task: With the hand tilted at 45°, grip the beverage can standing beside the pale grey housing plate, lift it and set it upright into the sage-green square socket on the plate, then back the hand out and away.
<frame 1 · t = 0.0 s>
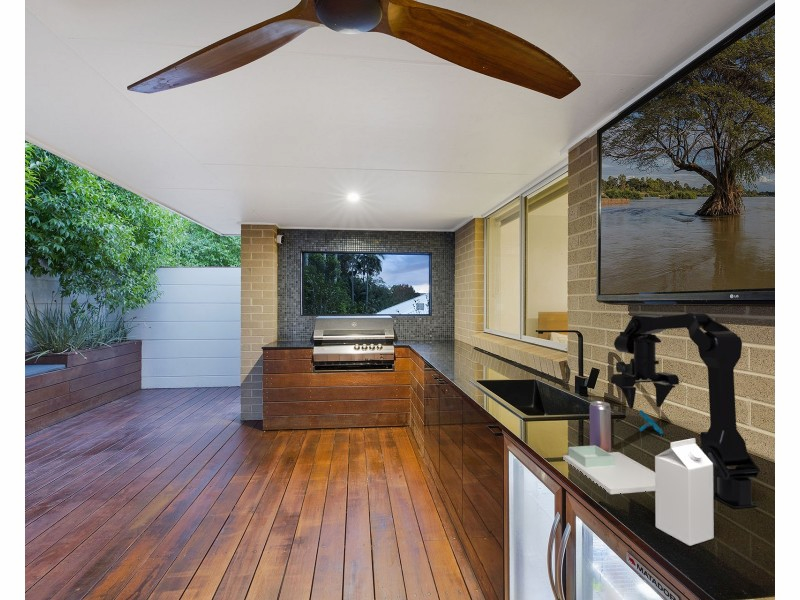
hand: (644, 407, 125), 15 cm above the worktop, tool pointing down, fingers open, 9 cm apart
milk carton: (683, 534, 84), on the worktop
housing plate: (615, 473, 113), on the worktop
beverage can: (600, 451, 129), on the worktop
blue irregular branched piece: (650, 432, 147), on the worktop
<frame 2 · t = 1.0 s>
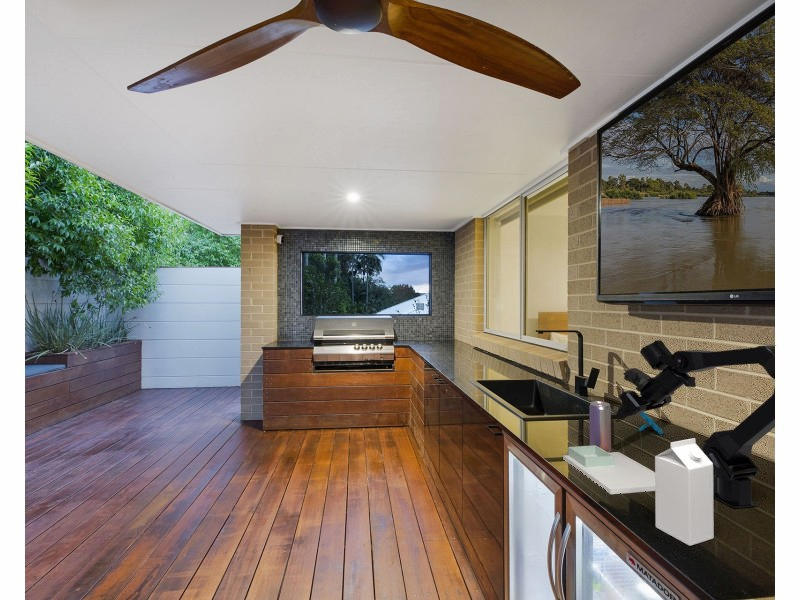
hand: (625, 414, 122), 13 cm above the worktop, tool tilted 45°, fingers open, 9 cm apart
nothing on the worktop moved.
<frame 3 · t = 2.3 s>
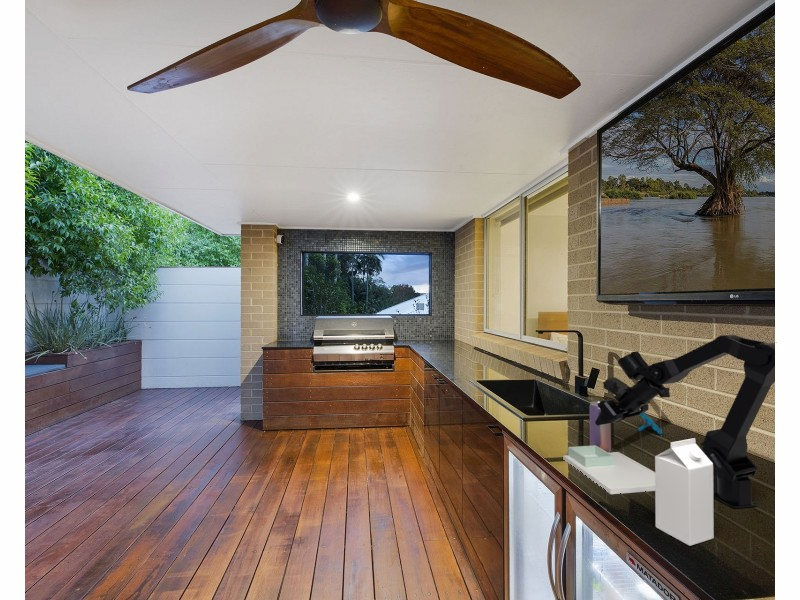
hand: (604, 421, 127), 10 cm above the worktop, tool tilted 45°, fingers open, 9 cm apart
nothing on the worktop moved.
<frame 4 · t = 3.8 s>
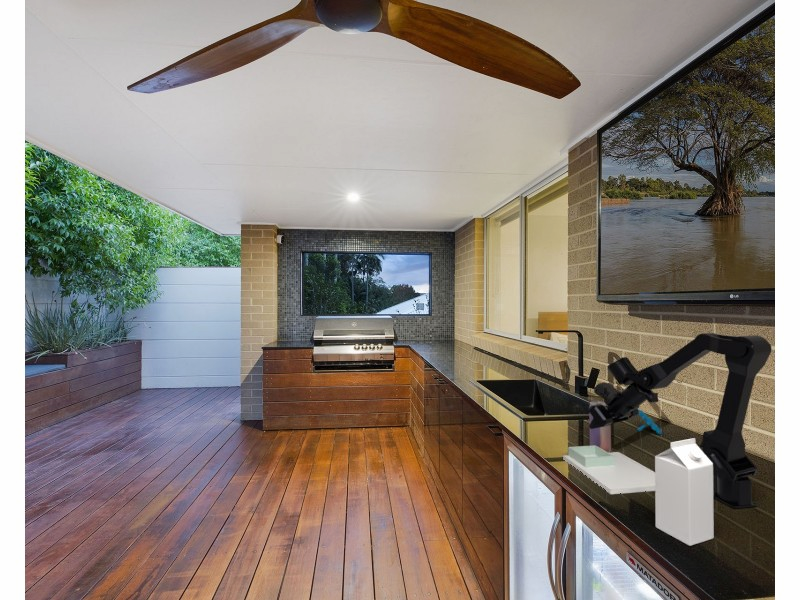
hand: (596, 425, 130), 8 cm above the worktop, tool tilted 45°, fingers closed on beverage can, 6 cm apart
beverage can: (600, 451, 129), on the worktop, touching gripper
everything else where it was.
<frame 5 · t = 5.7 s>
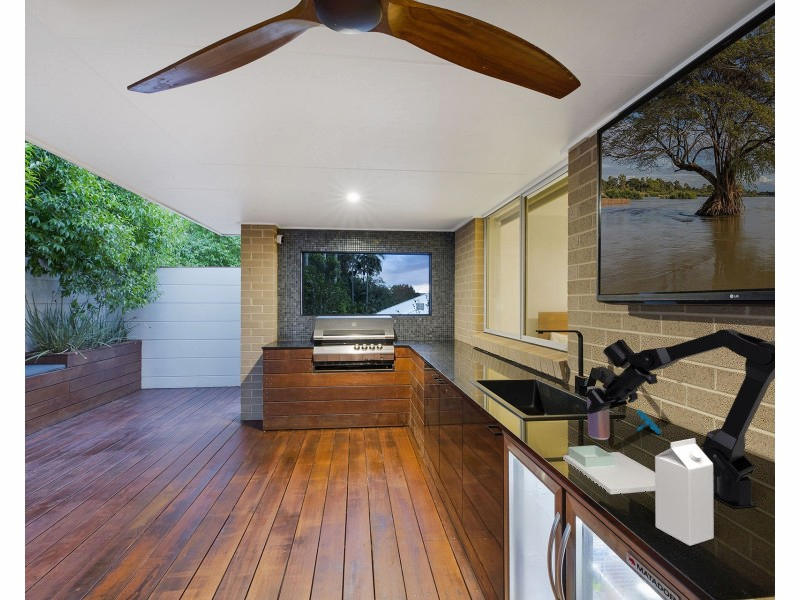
hand: (594, 411, 127), 13 cm above the worktop, tool tilted 45°, fingers closed on beverage can, 6 cm apart
beverage can: (598, 437, 126), point 5 cm above the worktop, touching gripper
everything else where it was.
when the fingers open (10 cm above the worktop, at t = 7.9 s): beverage can drops 1 cm, resting on housing plate.
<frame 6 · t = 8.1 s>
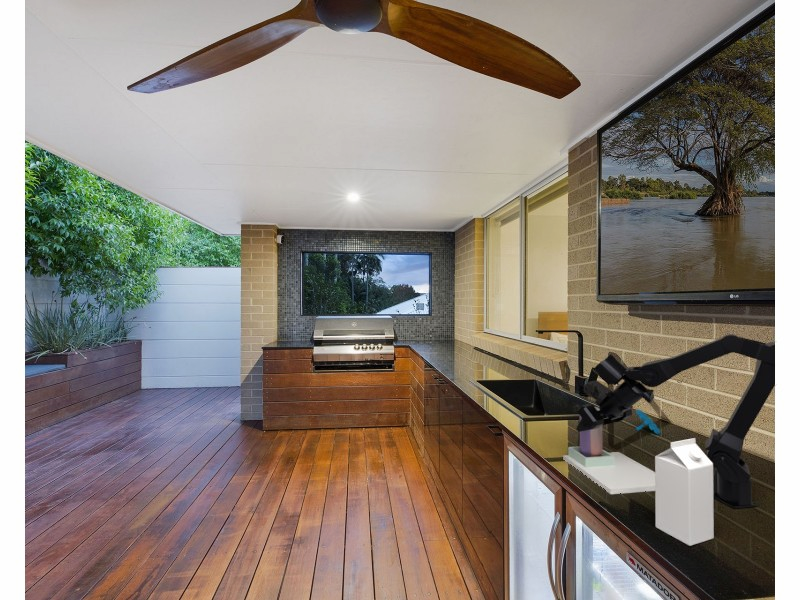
hand: (586, 427, 120), 10 cm above the worktop, tool tilted 45°, fingers open, 8 cm apart
beverage can: (591, 460, 119), point 1 cm above the worktop, touching housing plate
everything else where it was.
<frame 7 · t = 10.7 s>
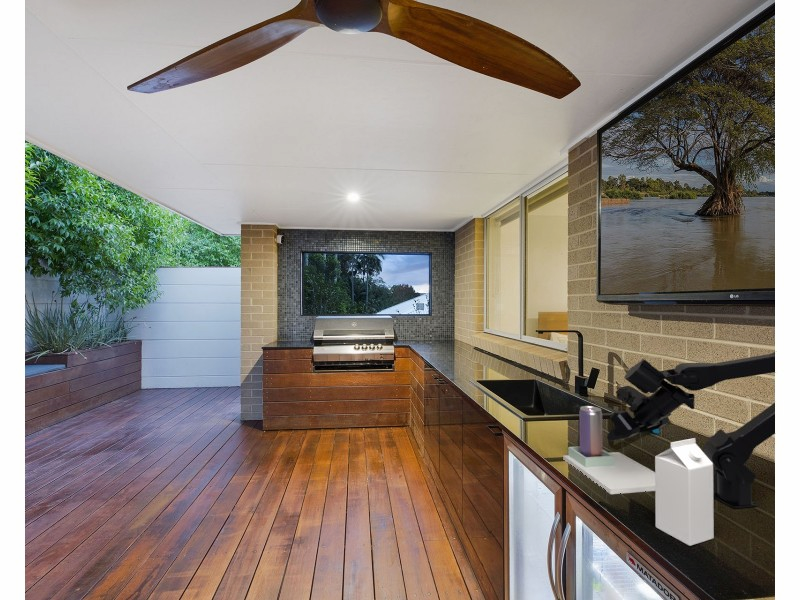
hand: (618, 436, 112), 10 cm above the worktop, tool tilted 45°, fingers open, 9 cm apart
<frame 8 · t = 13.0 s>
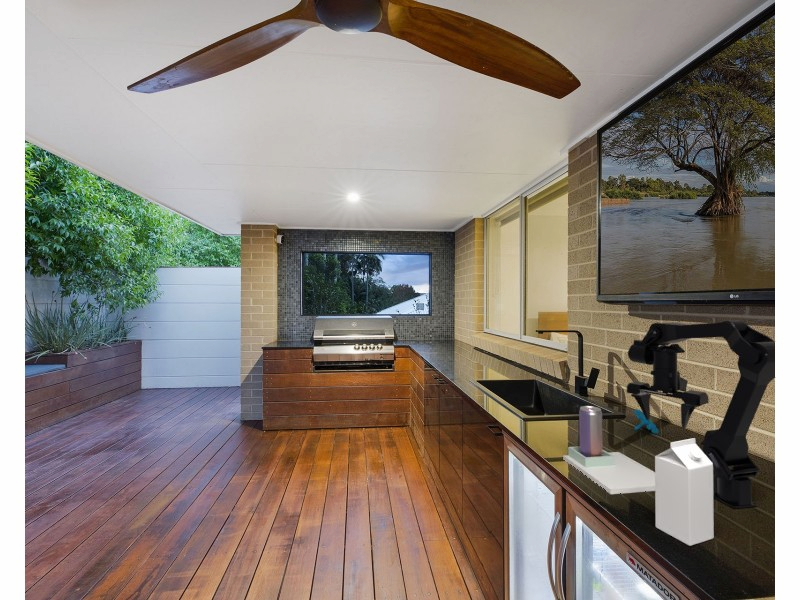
hand: (665, 423, 114), 13 cm above the worktop, tool pointing down, fingers open, 9 cm apart
at the end: beverage can 0.1 cm from the target spot, point 1.0 cm above the worktop; beverage can tilted 0°; the gripper is holding nothing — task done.
